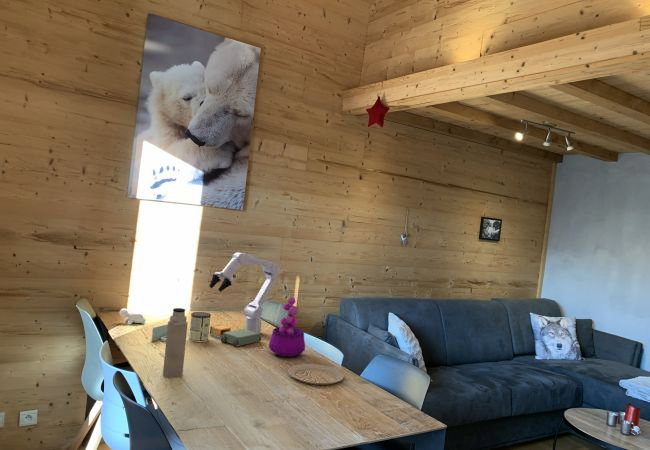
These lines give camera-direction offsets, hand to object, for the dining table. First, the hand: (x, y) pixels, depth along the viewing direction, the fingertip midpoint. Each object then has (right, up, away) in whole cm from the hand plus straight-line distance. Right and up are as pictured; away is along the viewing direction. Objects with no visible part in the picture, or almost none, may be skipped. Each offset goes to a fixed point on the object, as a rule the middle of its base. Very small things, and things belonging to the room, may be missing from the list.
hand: (214, 288), depth 262 cm
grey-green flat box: (+9, -29, +4) cm, 30 cm away
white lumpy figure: (-52, -22, +17) cm, 59 cm away
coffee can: (-8, -27, -3) cm, 29 cm away
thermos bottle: (-4, -28, -60) cm, 66 cm away
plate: (+56, -35, -43) cm, 79 cm away
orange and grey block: (+1, -27, +10) cm, 29 cm away
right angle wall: (-22, -26, -10) cm, 36 cm away
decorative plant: (+40, -32, -14) cm, 53 cm away
